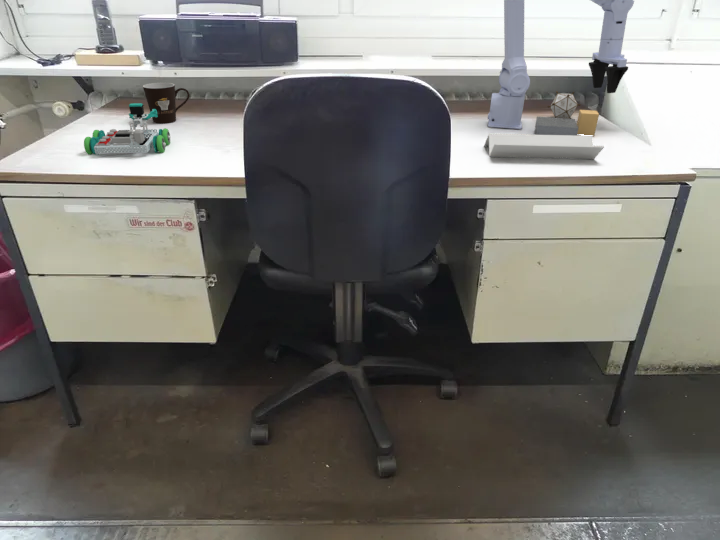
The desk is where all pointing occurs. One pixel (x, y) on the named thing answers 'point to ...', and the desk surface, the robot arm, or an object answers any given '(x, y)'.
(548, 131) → the charcoal stand
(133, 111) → the robot kit
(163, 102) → the coffee mug
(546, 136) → the grey v-shaped trough
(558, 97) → the game die
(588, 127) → the ochre block
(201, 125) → the desk surface
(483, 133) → the desk surface
